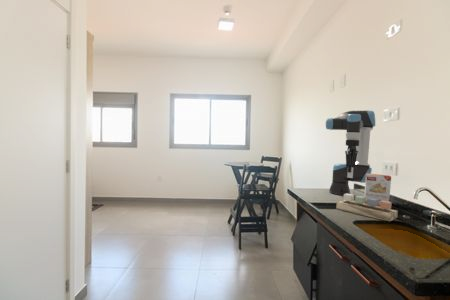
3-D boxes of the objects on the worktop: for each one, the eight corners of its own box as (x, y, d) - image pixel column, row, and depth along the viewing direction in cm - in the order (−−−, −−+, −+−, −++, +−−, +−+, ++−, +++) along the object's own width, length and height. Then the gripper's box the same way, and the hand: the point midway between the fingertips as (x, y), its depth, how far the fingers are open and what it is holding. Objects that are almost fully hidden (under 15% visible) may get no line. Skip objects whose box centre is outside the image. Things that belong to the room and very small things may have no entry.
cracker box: (364, 206, 181) (366, 174, 179) (363, 203, 186) (365, 173, 185) (388, 209, 176) (391, 176, 174) (387, 206, 181) (389, 175, 180)
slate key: (369, 207, 165) (370, 197, 165) (377, 209, 162) (378, 199, 161) (366, 209, 162) (367, 198, 162) (374, 210, 159) (375, 200, 158)
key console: (345, 205, 180) (345, 199, 180) (397, 217, 158) (397, 210, 157) (336, 208, 172) (336, 202, 172) (389, 221, 150) (390, 214, 149)
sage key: (357, 205, 170) (358, 195, 170) (365, 206, 167) (365, 197, 166) (354, 206, 167) (355, 196, 167) (362, 207, 164) (362, 198, 164)
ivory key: (346, 202, 175) (346, 193, 175) (353, 204, 172) (353, 194, 172) (343, 203, 172) (343, 194, 172) (350, 205, 169) (350, 195, 169)
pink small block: (382, 210, 160) (383, 200, 159) (390, 212, 157) (391, 202, 156) (379, 211, 157) (380, 201, 156) (388, 213, 154) (388, 203, 153)
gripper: (351, 139, 177) (348, 176, 178) (341, 139, 168) (339, 177, 169) (363, 139, 171) (360, 177, 172) (354, 139, 162) (351, 179, 164)
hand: (349, 177), depth 171 cm, fingers closed
